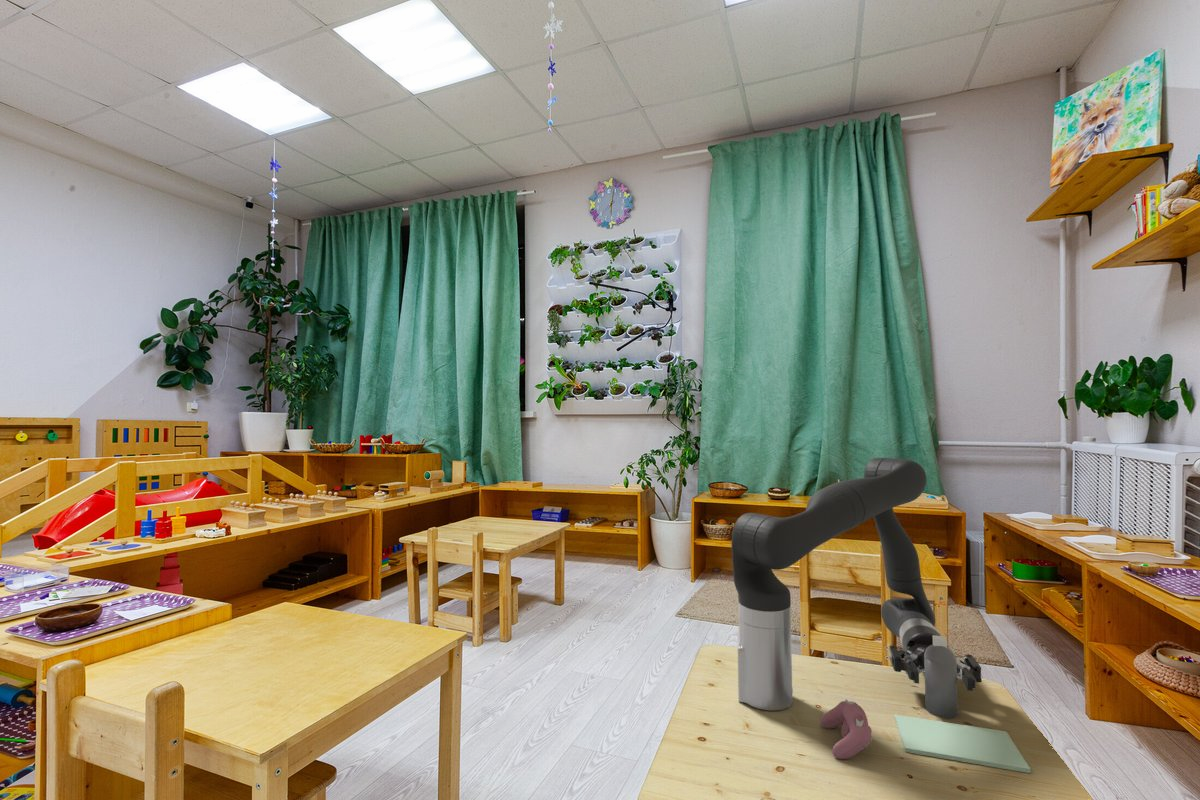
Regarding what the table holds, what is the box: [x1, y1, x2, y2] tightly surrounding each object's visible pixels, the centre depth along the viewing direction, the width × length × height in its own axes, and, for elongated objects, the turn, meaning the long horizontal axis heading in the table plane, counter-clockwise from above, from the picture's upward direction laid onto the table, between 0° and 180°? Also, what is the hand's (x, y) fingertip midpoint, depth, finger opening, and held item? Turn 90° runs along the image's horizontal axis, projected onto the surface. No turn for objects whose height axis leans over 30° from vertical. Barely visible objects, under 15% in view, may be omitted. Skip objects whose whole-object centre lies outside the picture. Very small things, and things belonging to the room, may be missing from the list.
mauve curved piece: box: [820, 698, 873, 760], centre depth 88 cm, size 10×5×7 cm, turn 170°
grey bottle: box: [924, 635, 959, 720], centre depth 97 cm, size 5×5×13 cm
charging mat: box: [894, 714, 1032, 774], centre depth 87 cm, size 16×10×1 cm, turn 70°
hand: (943, 681), depth 95 cm, fingers open, 7 cm apart
